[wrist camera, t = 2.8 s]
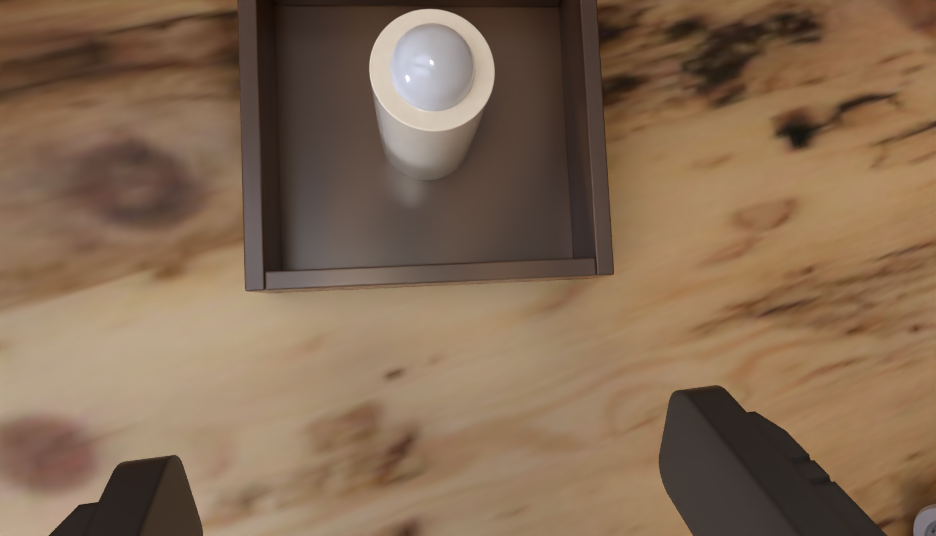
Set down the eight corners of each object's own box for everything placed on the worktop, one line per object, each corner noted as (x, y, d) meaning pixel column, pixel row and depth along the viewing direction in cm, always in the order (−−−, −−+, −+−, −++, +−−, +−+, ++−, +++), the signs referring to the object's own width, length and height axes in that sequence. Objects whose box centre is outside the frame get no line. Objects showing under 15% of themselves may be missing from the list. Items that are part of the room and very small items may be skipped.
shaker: (361, 129, 28) (337, 39, 18) (430, 73, 28) (442, -42, 19) (420, 198, 28) (427, 144, 18) (488, 142, 28) (529, 61, 19)
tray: (268, 293, 27) (244, 291, 23) (259, -5, 28) (235, -55, 24) (586, 278, 29) (615, 274, 25) (569, -2, 30) (594, -49, 26)
